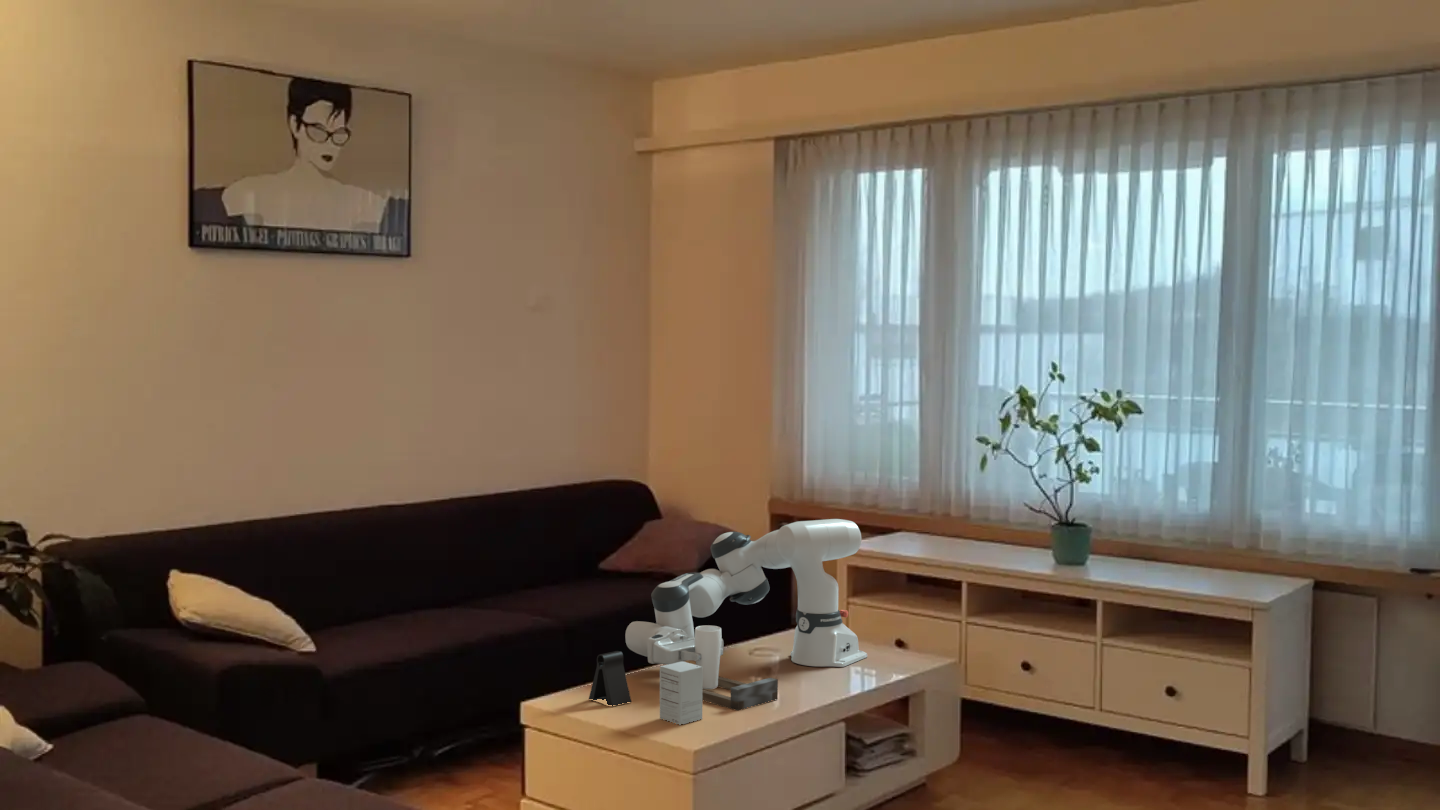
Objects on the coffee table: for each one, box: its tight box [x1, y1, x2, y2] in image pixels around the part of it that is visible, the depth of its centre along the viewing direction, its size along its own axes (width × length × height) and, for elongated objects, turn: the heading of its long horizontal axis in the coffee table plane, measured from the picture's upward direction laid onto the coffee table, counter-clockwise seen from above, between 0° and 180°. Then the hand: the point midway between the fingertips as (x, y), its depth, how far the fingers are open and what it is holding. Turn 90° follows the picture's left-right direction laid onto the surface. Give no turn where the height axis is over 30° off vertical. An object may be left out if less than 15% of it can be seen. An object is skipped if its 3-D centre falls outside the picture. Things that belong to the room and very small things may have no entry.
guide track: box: [702, 675, 779, 711], centre depth 336 cm, size 14×22×5 cm, turn 45°
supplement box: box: [659, 661, 703, 726], centre depth 316 cm, size 7×7×13 cm
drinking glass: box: [694, 624, 723, 690], centre depth 340 cm, size 7×7×15 cm
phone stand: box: [588, 650, 632, 706], centre depth 330 cm, size 9×6×12 cm, turn 44°
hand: (710, 654), depth 340 cm, fingers closed on drinking glass, 6 cm apart
